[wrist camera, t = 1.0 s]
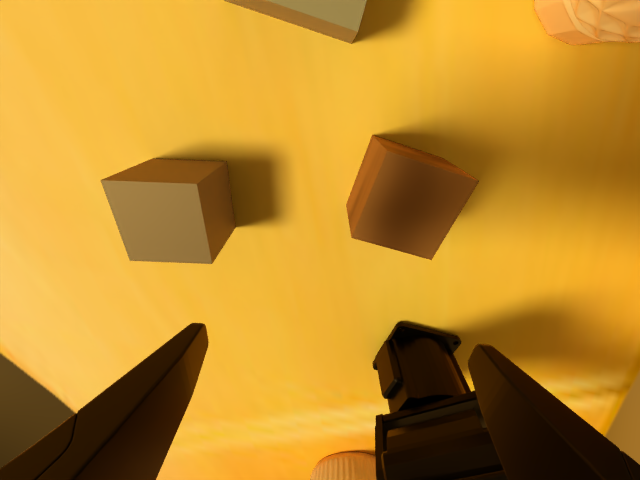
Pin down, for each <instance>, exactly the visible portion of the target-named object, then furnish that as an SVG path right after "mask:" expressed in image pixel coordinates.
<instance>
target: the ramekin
mask: <svg viewBox="0 0 640 480" xmlns="http://www.w3.org/2000/svg"><path fill="white" fill-rule="evenodd" d="M310 480H376V457H375V456H374V455H371V454H367V453H361V452H343V453H337V454H333V455H330V456H327V457H325V458H324V459H322V460H321V461H320V462H319V463H318V464H317V465H316V467H315V468H314V470H313V472H312V474H311V478H310Z"/></svg>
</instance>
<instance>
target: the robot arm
mask: <svg viewBox="0 0 640 480" xmlns="http://www.w3.org/2000/svg"><path fill="white" fill-rule="evenodd" d="M400 328H401V329H400ZM460 344H461V340H460V338H459V337H458V336H454V335H450V334H446V333H442V332H438V331H434V330H430V329H426V328H422V327H418V326H414V325H410V324H406V323H398V324H396V326H395V327H394V329H393V330H392V332H391V334H390V335H389V337H388V339H387V340H386V341H385V342H384V344H383V345H382V347H381V348H380V350H379V352H378V353H377V355H376V357H375V360H374V361H373V369H375V370H378V375H379V380H380V386H381V391H382V396H383V397H384V398H385V399H388V404H389V409H390V413H389V414H385V415H383V414H380V415H376V426H375V457H376V480H640V465H639V464H638V463H637V462H636V461H634V460H633V459H632V458H631V457H629V456H628V455H627V454H626V453H624V452H623V451H620V449H619V448H618V447H617V446H616V445H614V444H613V443H612V442H611V441H609V440H608V439H607V438H606V437H604V436H603V435H602V434H601V433H599V432H598V431H597V430H596V429H595V428H593V427H592V426H591V425H590V424H588V423H587V422H586V421H585V420H583V419H582V418H581V417H580V416H578V415H577V414H576V413H575V412H573V411H572V410H571V409H570V408H568V407H567V406H566V405H565V404H563V403H562V402H561V401H560V400H559V399H557V398H556V397H555V396H554V395H552V394H551V393H550V392H549V391H547V390H546V389H545V388H544V387H542V386H541V385H540V384H539V383H537V382H536V381H535V380H534V379H532V378H531V377H530V376H529V375H527V374H526V373H525V372H524V371H523V370H521V369H520V368H519V367H518V366H516V365H515V364H514V363H513V362H511V361H510V360H509V359H508V358H506V357H505V356H504V355H503V354H501V353H500V352H499V351H498V350H496V349H495V348H494V347H493V346H491V345H486V344H477V345H476V346H475V348H474V350H473V352H472V354H471V356H470V358H469V360H468V367H469V371H470V374H471V378H472V381H473V385H474V388H475V391H472V392H471V390H470V388H469V386H468V384H467V382H466V380H465V378H464V376H463V374H462V371H461V369H460V367H459V365H458V363H457V361H456V359H455V357H454V354H453V353H454V352H455V350H456V349H457V348H458V347H459V345H460ZM207 348H208V336H207V330H206V326H205V324H203V323H192V324H190V325H188V326H187V327H186V328H184V329H183V330H182V331H181V332H179V333H178V334H177V335H175V336H174V337H173V338H172V339H170V340H169V341H168V342H166V343H165V344H164V345H163V346H161V347H160V348H159V349H157V350H156V351H155V352H153V353H152V354H151V355H150V356H148V357H147V358H146V359H144V360H143V361H142V362H141V363H139V364H138V365H137V366H135V367H134V368H133V369H132V370H130V371H129V372H128V373H126V374H125V375H124V376H123V377H121V378H120V379H119V380H117V381H116V382H115V383H113V384H112V385H111V386H110V387H108V388H107V389H106V390H104V391H103V392H102V393H101V394H99V395H98V396H97V397H95V398H94V399H93V400H92V401H90V402H89V403H88V404H86V405H85V406H84V407H83V408H81V409H80V410H79V411H78V413H75V414H73V415H72V416H71V417H70V418H68V419H67V420H66V421H64V422H63V423H62V424H60V425H59V426H58V427H56V428H55V429H54V430H53V431H51V432H50V433H49V434H47V435H46V436H44V437H43V438H42V439H40V440H39V441H38V442H36V443H35V444H34V445H33V446H31V447H30V448H28V449H27V450H25V451H24V452H23V453H21V454H20V455H18V456H17V457H16V458H14V459H13V460H11V461H10V462H8V463H7V464H6V465H4V466H3V467H1V468H0V480H156V478H157V476H158V473H159V471H160V469H161V467H162V464H163V462H164V460H165V457H166V455H167V453H168V450H169V448H170V446H171V444H172V441H173V439H174V437H175V434H176V432H177V430H178V427H179V425H180V423H181V421H182V418H183V416H184V414H185V411H186V409H187V407H188V404H189V402H190V400H191V397H192V395H193V392H194V389H195V386H196V383H197V380H198V376H199V373H200V370H201V367H202V364H203V361H204V358H205V354H206V351H207Z"/></svg>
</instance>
